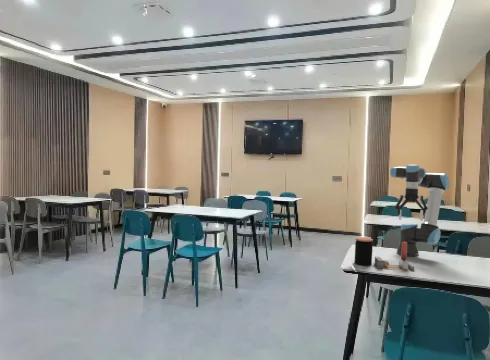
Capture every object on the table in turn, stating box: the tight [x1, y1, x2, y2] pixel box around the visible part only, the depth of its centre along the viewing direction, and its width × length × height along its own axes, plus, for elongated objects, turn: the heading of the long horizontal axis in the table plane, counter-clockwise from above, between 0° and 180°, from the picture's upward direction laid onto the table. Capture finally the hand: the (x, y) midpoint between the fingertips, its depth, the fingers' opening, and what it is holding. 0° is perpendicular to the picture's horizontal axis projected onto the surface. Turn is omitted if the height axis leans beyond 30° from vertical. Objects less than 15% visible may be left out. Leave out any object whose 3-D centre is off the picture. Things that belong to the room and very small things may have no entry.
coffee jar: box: [354, 236, 374, 267], centre depth 236 cm, size 11×11×18 cm
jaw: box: [398, 242, 409, 269], centre depth 229 cm, size 9×3×16 cm, turn 173°
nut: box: [383, 260, 390, 267], centre depth 231 cm, size 4×4×4 cm
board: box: [372, 256, 416, 272], centre depth 230 cm, size 13×22×6 cm, turn 83°
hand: (410, 219), depth 242 cm, fingers open, 13 cm apart
